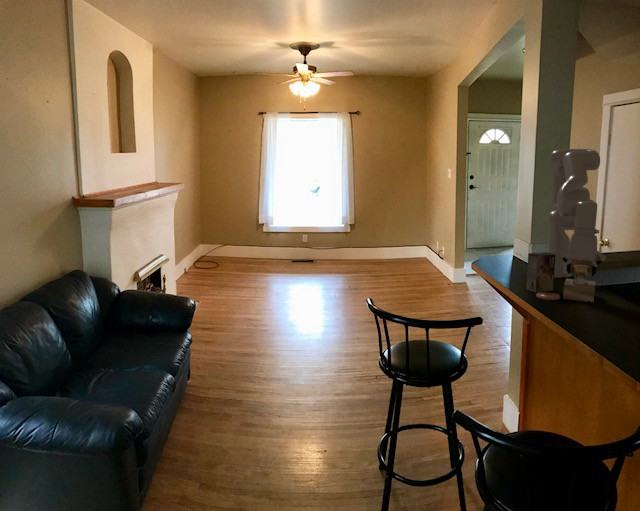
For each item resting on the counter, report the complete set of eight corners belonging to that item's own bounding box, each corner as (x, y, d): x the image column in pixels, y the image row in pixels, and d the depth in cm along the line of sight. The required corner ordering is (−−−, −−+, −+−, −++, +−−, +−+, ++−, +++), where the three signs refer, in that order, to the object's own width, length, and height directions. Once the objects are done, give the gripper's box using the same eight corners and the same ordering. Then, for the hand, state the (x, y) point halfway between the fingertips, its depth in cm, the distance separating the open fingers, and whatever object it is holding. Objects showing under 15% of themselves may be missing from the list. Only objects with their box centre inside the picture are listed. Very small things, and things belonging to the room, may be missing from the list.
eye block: (564, 292, 217) (566, 278, 216) (594, 295, 212) (595, 281, 211) (562, 298, 208) (564, 284, 207) (593, 302, 203) (594, 287, 202)
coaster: (537, 293, 216) (537, 291, 216) (561, 296, 212) (561, 293, 212) (535, 298, 208) (535, 296, 208) (559, 301, 204) (559, 299, 204)
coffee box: (543, 287, 226) (546, 251, 223) (553, 290, 220) (556, 254, 217) (525, 288, 224) (528, 253, 220) (535, 292, 218) (538, 255, 214)
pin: (571, 294, 214) (573, 264, 212) (587, 296, 211) (590, 265, 209) (570, 297, 209) (572, 266, 206) (586, 299, 206) (589, 268, 204)
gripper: (609, 232, 204) (605, 274, 207) (561, 229, 212) (558, 270, 216) (609, 234, 197) (604, 278, 201) (559, 232, 206) (556, 274, 209)
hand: (580, 274), depth 208 cm, fingers open, 8 cm apart
